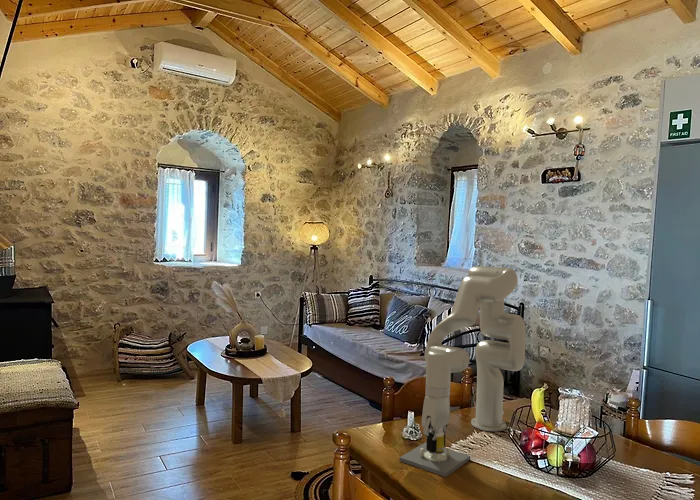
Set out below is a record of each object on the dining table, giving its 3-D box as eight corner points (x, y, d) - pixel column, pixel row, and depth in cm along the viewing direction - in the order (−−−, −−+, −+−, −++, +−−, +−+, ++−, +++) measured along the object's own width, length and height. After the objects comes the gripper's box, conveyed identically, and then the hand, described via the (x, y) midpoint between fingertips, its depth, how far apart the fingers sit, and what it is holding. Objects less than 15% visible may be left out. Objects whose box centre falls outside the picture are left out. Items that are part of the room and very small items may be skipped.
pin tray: (425, 445, 177) (426, 434, 177) (470, 459, 167) (470, 447, 167) (399, 461, 165) (399, 449, 164) (445, 477, 155) (446, 464, 155)
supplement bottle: (444, 450, 167) (445, 424, 167) (442, 456, 163) (443, 429, 163) (429, 448, 169) (430, 422, 169) (426, 454, 165) (427, 427, 164)
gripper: (440, 382, 174) (438, 437, 175) (412, 394, 161) (411, 453, 162) (461, 387, 170) (459, 443, 170) (434, 399, 156) (432, 461, 157)
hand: (435, 447), depth 166 cm, fingers closed on supplement bottle, 4 cm apart
